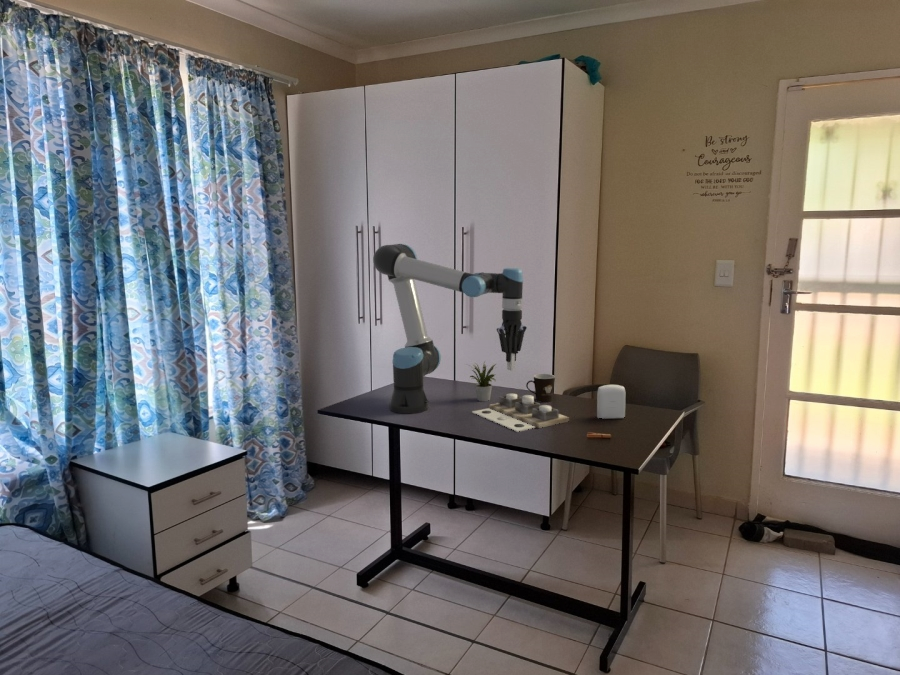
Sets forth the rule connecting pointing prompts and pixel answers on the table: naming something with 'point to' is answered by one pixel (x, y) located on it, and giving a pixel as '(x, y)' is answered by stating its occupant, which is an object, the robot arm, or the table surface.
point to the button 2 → (545, 408)
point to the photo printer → (611, 401)
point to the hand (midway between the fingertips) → (510, 369)
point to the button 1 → (511, 396)
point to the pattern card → (503, 419)
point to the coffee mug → (543, 387)
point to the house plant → (483, 383)
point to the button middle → (527, 400)
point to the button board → (528, 412)
